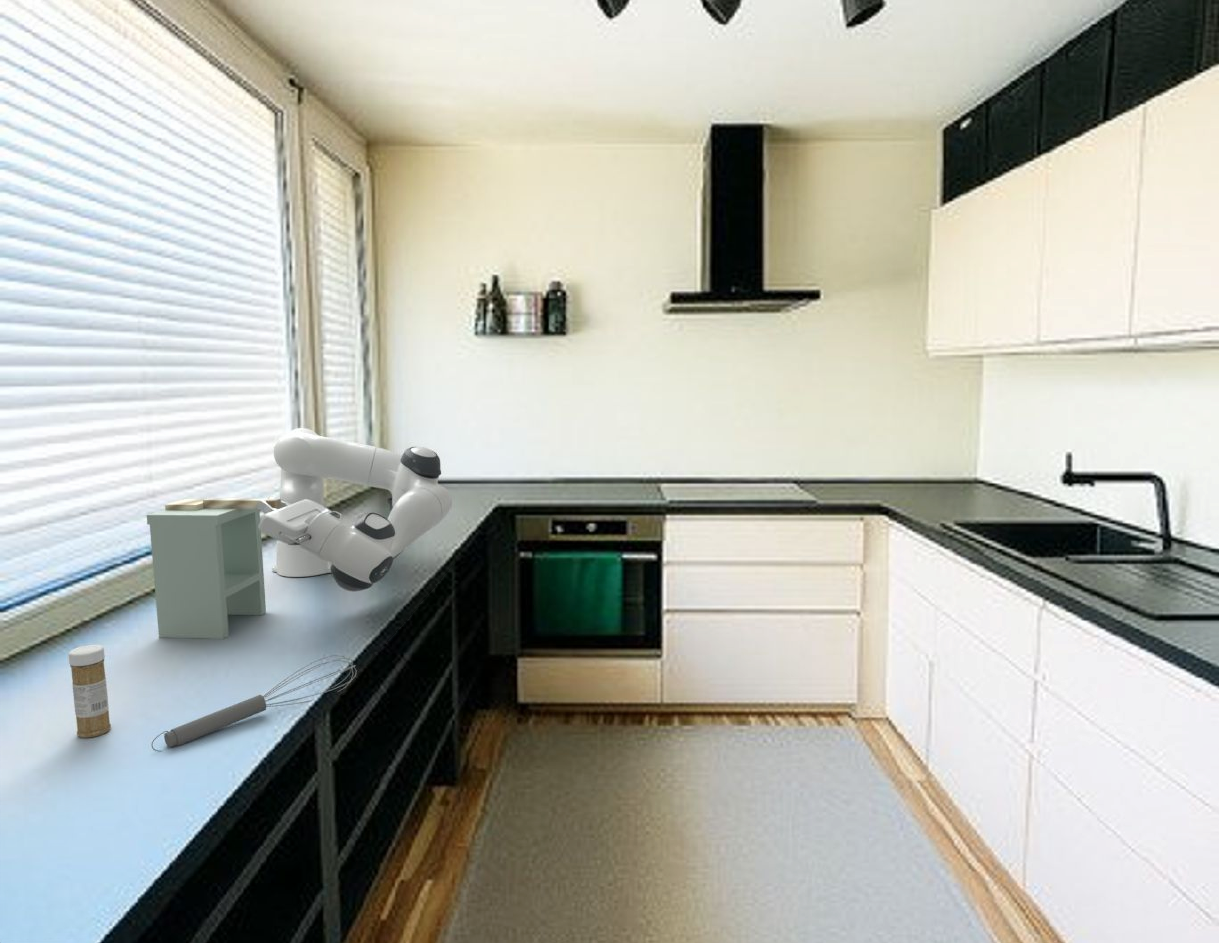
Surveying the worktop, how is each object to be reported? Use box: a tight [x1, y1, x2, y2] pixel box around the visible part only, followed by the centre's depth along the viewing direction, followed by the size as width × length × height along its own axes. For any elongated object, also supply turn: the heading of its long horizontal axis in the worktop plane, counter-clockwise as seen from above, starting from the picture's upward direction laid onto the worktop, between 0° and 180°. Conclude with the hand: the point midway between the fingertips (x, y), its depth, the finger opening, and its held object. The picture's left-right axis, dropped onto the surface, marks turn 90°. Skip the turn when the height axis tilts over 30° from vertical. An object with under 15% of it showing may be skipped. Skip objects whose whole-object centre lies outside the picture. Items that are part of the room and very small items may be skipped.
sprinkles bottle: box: [68, 644, 112, 739], centre depth 125 cm, size 5×5×13 cm
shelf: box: [146, 508, 267, 640], centre depth 176 cm, size 18×15×26 cm
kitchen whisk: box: [151, 654, 357, 752], centre depth 131 cm, size 6×34×6 cm, turn 140°
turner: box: [164, 497, 281, 510], centre depth 174 cm, size 23×7×2 cm, turn 86°
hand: (263, 501), depth 173 cm, fingers closed on turner, 2 cm apart
